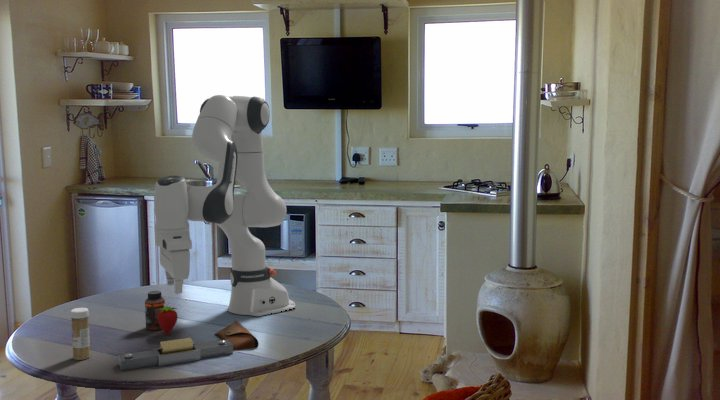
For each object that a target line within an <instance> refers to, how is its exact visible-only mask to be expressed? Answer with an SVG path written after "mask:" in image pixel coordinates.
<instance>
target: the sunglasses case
mask: <svg viewBox="0 0 720 400" xmlns="http://www.w3.org/2000/svg"><path fill="white" fill-rule="evenodd" d="M213 335H214V336H215V337H217V338H218V339H219V340H227V339H228V340H229V341H230V342H231V343H232V344H233V352H235V351H242V350H248V349H250V350H251V349H257V348H258V347H259V344H260V343H259V340H258V339H257V338H256V336H254V335H253V334H252V332H250V331H249V330H248V329H247V328H246V327H245V326H244V325H243V324H241V323H240V322H239V321H238V320H237V319H235V320H234V321H233V322H232V323H231V324H229V325H227V326H225V327H224V328H221V329H220V330H218V331H217V332H215V333H214V334H213Z"/></svg>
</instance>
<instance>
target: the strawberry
mask: <svg viewBox="0 0 720 400" xmlns="http://www.w3.org/2000/svg"><path fill="white" fill-rule="evenodd" d="M169 304H170V302H168V303H167V305H165V306H164V308H160V309H159V310H161V311H159V313H158V314H157V320H158V323H159V325H160V327H161V328H162V329H161V330H162V331H163V332H164V334H165V335H170V333H171V332H172V330H173V329H174V327H175V326H176V324H177V322H178V313H177V311H176V310H177V309H178V308H177V307H171V306H168V305H169Z"/></svg>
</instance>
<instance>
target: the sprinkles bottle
mask: <svg viewBox="0 0 720 400" xmlns="http://www.w3.org/2000/svg"><path fill="white" fill-rule="evenodd" d="M69 315H70V318H71V339H72V343H71V345H72V359H73V360H74V361H75V360H76V361H83V360H86V359H89V358H90V357H91V353H90V352H91V351H90V350H91V349H90V344H91V343H90V340H91V339H90V326H89V325H90V324H89V316H90V311H89V309H88V308H87V307H76V308H73V309H71V310H70V313H69Z"/></svg>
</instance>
